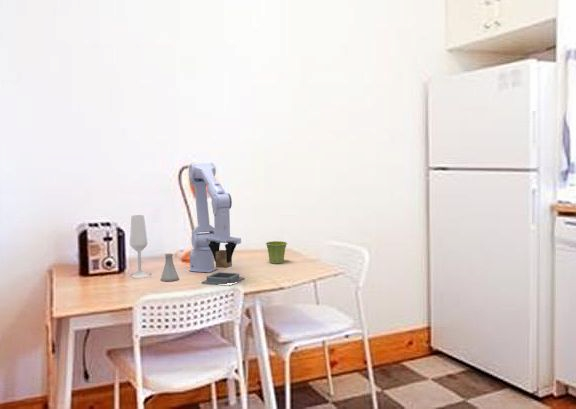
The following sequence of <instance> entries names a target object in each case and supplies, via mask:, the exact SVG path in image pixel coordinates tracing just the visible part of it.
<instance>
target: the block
mask: <svg viewBox="0 0 576 409" xmlns="http://www.w3.org/2000/svg"><path fill="white" fill-rule="evenodd" d="M215 267H216V268H218V269H228V268H231V267H233V258H232V259H231V262H229V263H227V253H226V249H219V251H216V262H215Z"/></svg>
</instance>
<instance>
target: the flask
mask: <svg viewBox="0 0 576 409" xmlns="http://www.w3.org/2000/svg"><path fill="white" fill-rule="evenodd" d="M164 256H165V263H164V267H163V270H162V273H161V275H160V276H161V277H160V281H163V282H172V281H173V282H174V281H179V280H180V278H179V275H178V272H177V269H176V267H175V264H174V259H173V256H174V253H171V252H169V253H164Z"/></svg>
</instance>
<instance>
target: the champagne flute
mask: <svg viewBox="0 0 576 409" xmlns="http://www.w3.org/2000/svg"><path fill="white" fill-rule="evenodd" d="M130 220H131V221H130V239H129V245H130V246H131V248H132V249H133V250H134V251H136V253H137V269H138V270H137V271H136V272H135V273H134V274H132V275H131V278H135V279H138V278H139V279H141V278H145V277H146V278H147V277H149V274H148V273H146V272H144V271H142V253H141V252H142V251H143V250H144V249H145V248H146V247H147V246H148V238H147V230H146V228H147V227H146V222H145V215H143V214H134V215H131V217H130Z"/></svg>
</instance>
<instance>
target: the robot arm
mask: <svg viewBox="0 0 576 409" xmlns="http://www.w3.org/2000/svg"><path fill="white" fill-rule="evenodd" d="M216 172H217V169H216V165H215V164H214V162H208V163H207V162H206V163H205V162H203V163H202V162H201V163H193V162H192V163H190V164H189V167H188V178H189V179H188V180H189V185H192V186H193V188H194V189H193V190H194V196H195V197H194V198H195V208H196V218H197V220H196V221H197V226H195V227H194V228H193V229H192V231H191V246H192V249H191V250H190V253H189V270H188V271H189V272H197V273H199V272H200V273H211V272H213V271H216V270H218V269H219V268H216V266H215V263H216V251H219V250H220V247H221V244H224V248H225V250H226V253H227V263H229V262H231V259H232V260H233V255H234V251H235V250H236V247H237V245H240V244H241V243H242V238H241V237H232V236H231V225H230V224H231V223H230V222H231V221H230V220H231V219H230V218H231V217H230V215H231V214H230V210H231V208H232V205H233V204H232V203H233V200H232V196H231V194H230V193H228V192H226V191H225V190H224V188H223V186H222V184H221V183H220V182H218V181H217V179H216V177H215V176H216V174H217V173H216ZM208 195H209V197H210V199H211V208H212V214H213V219H214V223H213V224H214V225H211V224H210V216H209V205H208ZM213 226H214V227H213Z"/></svg>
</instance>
